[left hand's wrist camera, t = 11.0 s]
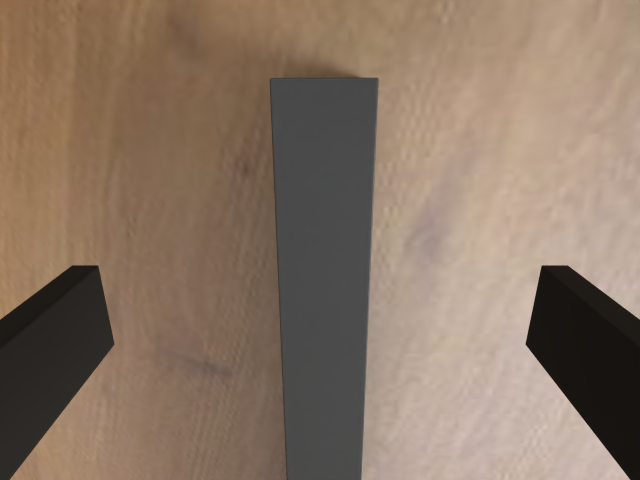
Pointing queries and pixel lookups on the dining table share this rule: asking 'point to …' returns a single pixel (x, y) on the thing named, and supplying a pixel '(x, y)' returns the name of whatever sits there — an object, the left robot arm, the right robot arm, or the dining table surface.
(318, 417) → the post
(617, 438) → the left robot arm
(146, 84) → the dining table surface
